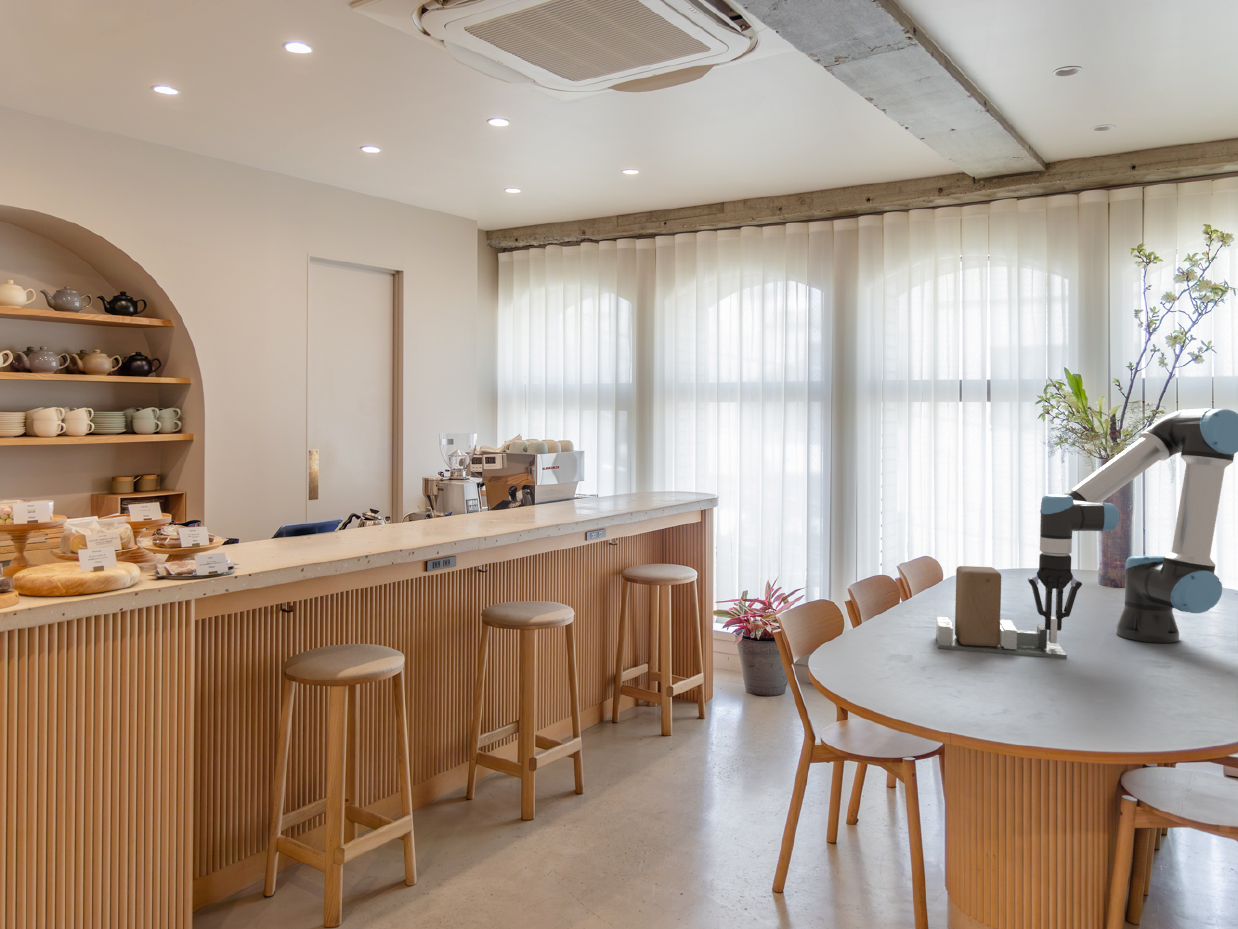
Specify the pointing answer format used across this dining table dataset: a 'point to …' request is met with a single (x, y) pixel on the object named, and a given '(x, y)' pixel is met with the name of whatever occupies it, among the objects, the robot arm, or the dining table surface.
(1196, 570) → the robot arm
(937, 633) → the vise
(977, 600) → the wooden block
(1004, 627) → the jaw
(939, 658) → the dining table surface
